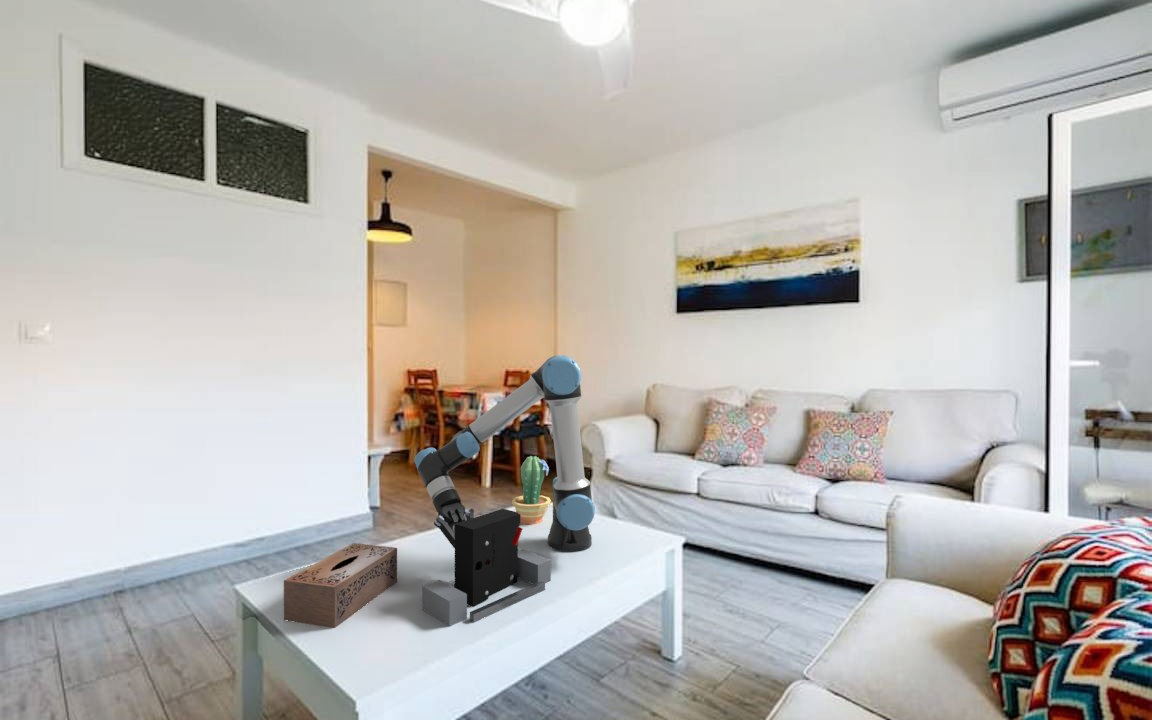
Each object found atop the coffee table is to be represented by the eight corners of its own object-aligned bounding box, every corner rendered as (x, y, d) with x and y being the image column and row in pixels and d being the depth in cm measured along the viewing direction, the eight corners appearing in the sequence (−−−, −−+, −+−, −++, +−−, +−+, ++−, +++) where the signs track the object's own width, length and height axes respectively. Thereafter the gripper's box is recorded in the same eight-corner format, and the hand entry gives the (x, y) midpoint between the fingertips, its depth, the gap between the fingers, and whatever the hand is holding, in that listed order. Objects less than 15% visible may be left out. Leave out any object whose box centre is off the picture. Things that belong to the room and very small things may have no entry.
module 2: (522, 569, 157) (522, 549, 157) (550, 580, 149) (550, 560, 149) (510, 574, 153) (510, 553, 153) (538, 586, 145) (538, 565, 145)
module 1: (439, 602, 136) (439, 579, 136) (466, 618, 127) (466, 594, 127) (422, 609, 132) (422, 585, 132) (449, 626, 124) (449, 601, 124)
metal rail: (541, 587, 144) (541, 580, 144) (545, 589, 143) (545, 582, 143) (469, 620, 127) (469, 612, 127) (473, 622, 126) (473, 614, 126)
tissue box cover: (334, 629, 123) (334, 587, 123) (283, 621, 126) (283, 580, 126) (397, 582, 148) (397, 547, 148) (353, 577, 151) (353, 543, 151)
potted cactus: (536, 529, 192) (536, 462, 192) (503, 522, 200) (503, 457, 200) (558, 518, 206) (558, 455, 205) (526, 512, 214) (527, 451, 213)
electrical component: (497, 574, 153) (497, 507, 153) (522, 584, 147) (522, 513, 147) (449, 596, 139) (449, 522, 139) (474, 607, 133) (475, 530, 133)
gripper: (457, 497, 162) (490, 566, 151) (419, 506, 152) (452, 580, 141) (467, 483, 158) (502, 552, 147) (429, 492, 148) (464, 566, 137)
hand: (478, 566), depth 144 cm, fingers closed
